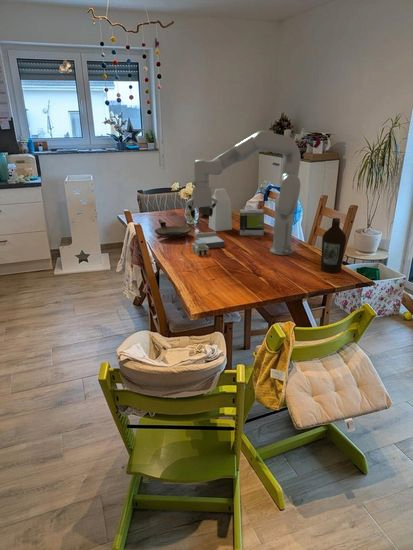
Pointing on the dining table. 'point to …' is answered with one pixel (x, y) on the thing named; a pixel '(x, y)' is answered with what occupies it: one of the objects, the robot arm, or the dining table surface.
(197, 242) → the tote
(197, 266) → the dining table surface
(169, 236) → the oil lamp
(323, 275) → the dining table surface
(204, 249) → the pallet
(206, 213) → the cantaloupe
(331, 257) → the olive oil
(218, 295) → the dining table surface
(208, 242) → the dock
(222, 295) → the dining table surface
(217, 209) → the milk
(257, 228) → the tea box
